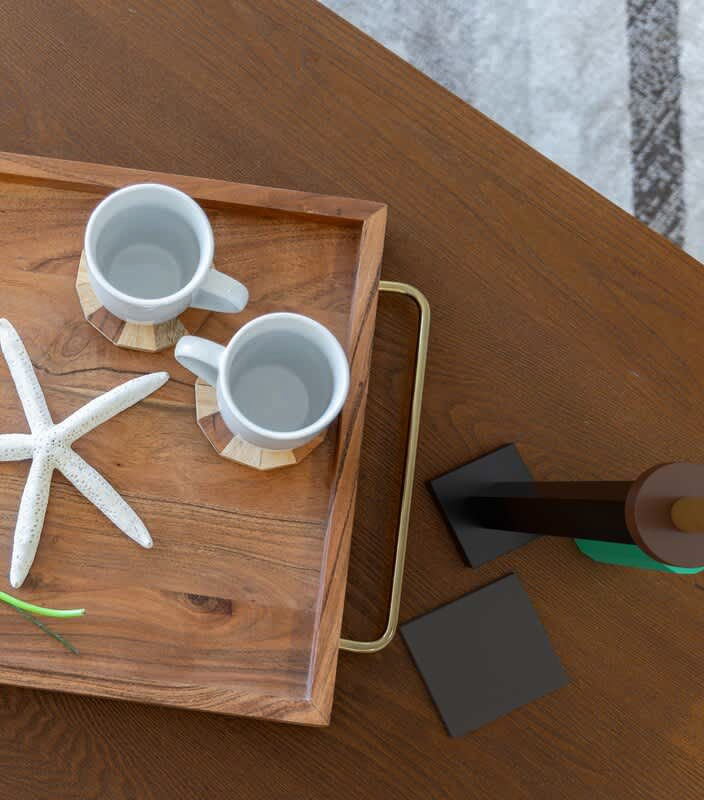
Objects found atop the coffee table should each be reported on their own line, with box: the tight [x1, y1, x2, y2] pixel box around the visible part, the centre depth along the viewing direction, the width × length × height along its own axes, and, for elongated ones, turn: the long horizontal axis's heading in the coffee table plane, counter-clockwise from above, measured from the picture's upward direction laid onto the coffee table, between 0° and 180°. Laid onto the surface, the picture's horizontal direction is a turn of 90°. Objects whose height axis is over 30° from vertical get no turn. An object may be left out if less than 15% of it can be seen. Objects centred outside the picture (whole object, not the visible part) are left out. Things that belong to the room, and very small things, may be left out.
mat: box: [397, 571, 571, 740], centre depth 74 cm, size 10×11×1 cm
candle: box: [573, 538, 704, 575], centre depth 69 cm, size 6×6×12 cm
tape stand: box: [423, 442, 704, 570], centre depth 60 cm, size 8×8×31 cm
